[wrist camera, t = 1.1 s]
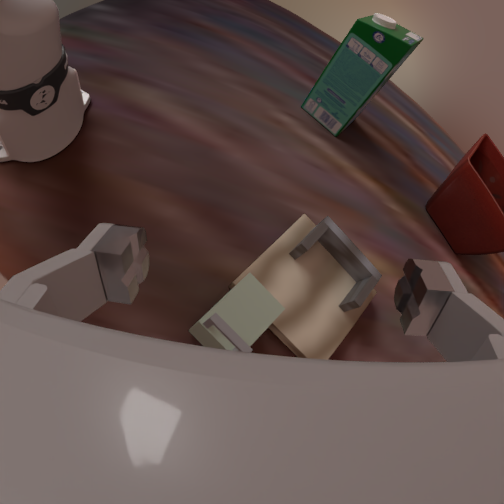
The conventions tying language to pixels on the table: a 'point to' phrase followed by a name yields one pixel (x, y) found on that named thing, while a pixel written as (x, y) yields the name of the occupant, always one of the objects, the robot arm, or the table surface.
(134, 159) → the table surface
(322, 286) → the dock
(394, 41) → the milk carton
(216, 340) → the pale green handled box
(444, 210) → the plant pot
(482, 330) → the robot arm
